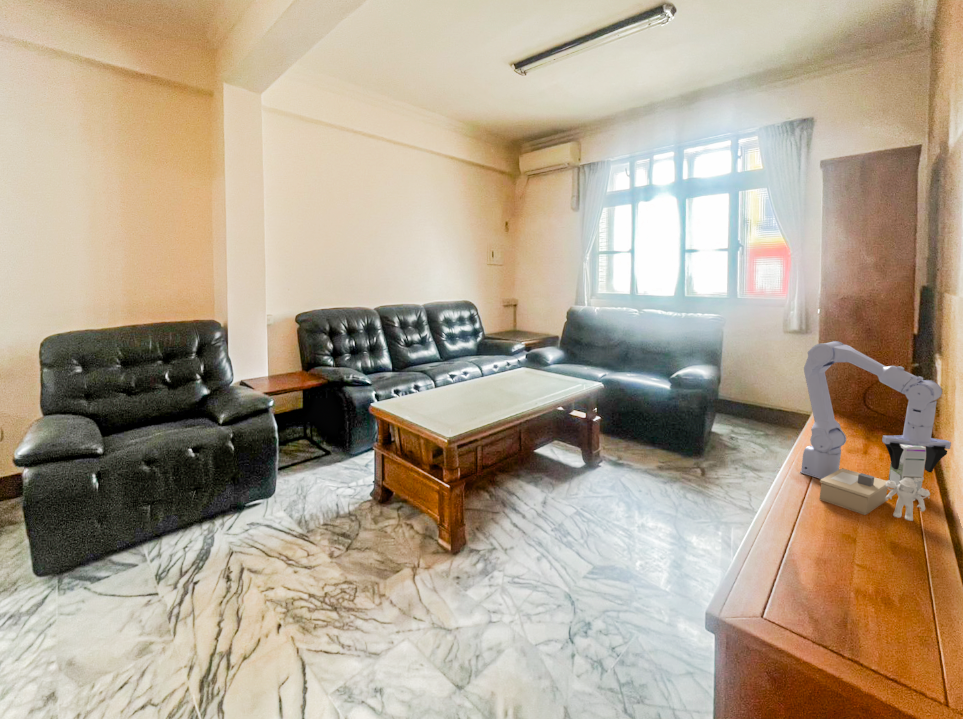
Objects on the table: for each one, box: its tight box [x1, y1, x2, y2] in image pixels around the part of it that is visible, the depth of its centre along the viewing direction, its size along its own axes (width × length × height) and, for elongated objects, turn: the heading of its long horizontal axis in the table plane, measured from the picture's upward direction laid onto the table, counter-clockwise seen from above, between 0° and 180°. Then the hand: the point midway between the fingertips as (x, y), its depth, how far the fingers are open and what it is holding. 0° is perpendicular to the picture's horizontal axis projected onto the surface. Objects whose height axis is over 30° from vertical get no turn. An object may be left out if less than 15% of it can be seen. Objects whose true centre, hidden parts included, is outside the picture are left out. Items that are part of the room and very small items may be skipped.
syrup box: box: [888, 444, 926, 491], centre depth 138 cm, size 6×6×14 cm
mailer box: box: [819, 483, 889, 516], centre depth 133 cm, size 11×14×5 cm
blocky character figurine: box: [885, 476, 931, 522], centre depth 123 cm, size 9×4×12 cm, turn 40°
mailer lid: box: [819, 467, 889, 498], centre depth 132 cm, size 12×15×3 cm
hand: (911, 469), depth 130 cm, fingers open, 7 cm apart
